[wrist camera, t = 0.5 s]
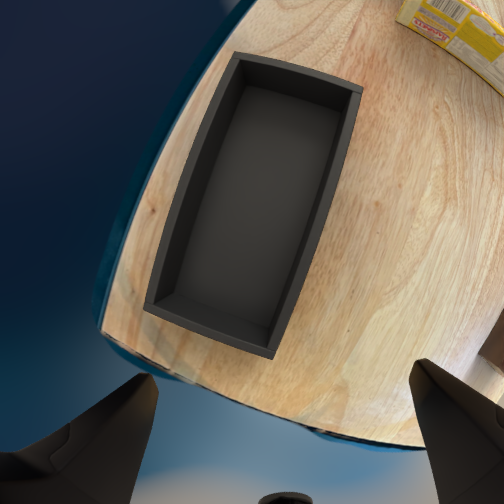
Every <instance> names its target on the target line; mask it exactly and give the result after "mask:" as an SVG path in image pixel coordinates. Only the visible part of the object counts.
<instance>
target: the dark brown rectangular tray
mask: <svg viewBox="0 0 504 504" xmlns="http://www.w3.org/2000/svg"><path fill="white" fill-rule="evenodd" d="M362 92H363V87H362V86H359V85H357V84H354V83H352V82H349V81H346V80H344V79H341V78H338V77H335V76H332V75H329V74H326V73H323V72H320V71H317V70H314V69H310V68H307V67H304V66H300V65H296V64H293V63H289V62H285V61H281V60H277V59H272V58H268V57H263V56H258V55H253V54H248V53H242V52H236V51H234V53H233V55H232V57H231V59H230V61H229V63H228V65H227V67H226V69H225V71H224V73H223V75H222V77H221V79H220V82H219V84H218V86H217V88H216V90H215V92H214V95H213V97H212V99H211V101H210V104H209V106H208V108H207V111H206V113H205V115H204V118H203V120H202V122H201V125H200V127H199V130H198V132H197V135H196V137H195V140H194V142H193V145H192V148H191V150H190V153H189V155H188V158H187V161H186V163H185V166H184V169H183V172H182V175H181V177H180V180H179V183H178V186H177V189H176V192H175V195H174V198H173V201H172V204H171V207H170V210H169V213H168V217H167V220H166V223H165V226H164V230H163V233H162V236H161V240H160V243H159V247H158V250H157V254H156V258H155V261H154V265H153V269H152V273H151V277H150V281H149V285H148V289H147V293H146V297H145V303H144V307H143V310H144V311H147V312H149V313H151V314H153V315H155V316H158V317H160V318H162V319H164V320H167V321H169V322H171V323H174V324H176V325H178V326H181V327H183V328H186V329H188V330H190V331H193V332H195V333H198V334H200V335H203V336H206V337H208V338H211V339H213V340H216V341H219V342H221V343H224V344H227V345H229V346H232V347H235V348H238V349H241V350H243V351H246V352H249V353H252V354H255V355H258V356H261V357H264V358H267V359H270V360H273V358H274V356H275V354H276V351H277V349H278V347H279V344H280V342H281V339H282V337H283V335H284V332H285V330H286V327H287V325H288V322H289V320H290V317H291V315H292V312H293V310H294V307H295V305H296V302H297V300H298V297H299V294H300V292H301V289H302V286H303V284H304V281H305V278H306V276H307V273H308V270H309V268H310V265H311V262H312V259H313V256H314V254H315V251H316V248H317V245H318V242H319V239H320V236H321V233H322V231H323V228H324V225H325V222H326V219H327V216H328V212H329V209H330V206H331V203H332V200H333V197H334V194H335V190H336V187H337V184H338V181H339V177H340V174H341V171H342V167H343V164H344V161H345V157H346V154H347V150H348V146H349V143H350V139H351V136H352V132H353V128H354V124H355V120H356V117H357V113H358V109H359V105H360V101H361V97H362Z"/></svg>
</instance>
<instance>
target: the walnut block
mask: <svg viewBox="0 0 504 504" xmlns="http://www.w3.org/2000/svg"><path fill="white" fill-rule="evenodd" d="M478 354H479V355H480V356H481V357H482V358H483V359H484V360H485V361H486V362H487V363H488V364H489V365H490V366H491V367H492V368H493V369H494V370H495V371H496V372H498V373H499V374H500V375H502V376H503V377H504V309H503V311H502V313H501V315H500V317H499V319H498V321H497V322H496V324H495V326H494V328H493V330H492V331H491V333H490V335H489V336H488V338H487V340H486V341H485V343H484V345H483V346H482V348H481V349H480V351H479V352H478Z"/></svg>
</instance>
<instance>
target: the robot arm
mask: <svg viewBox="0 0 504 504" xmlns="http://www.w3.org/2000/svg"><path fill="white" fill-rule="evenodd" d="M409 385H410V389H411V393H412V398H413V402H414V407H415V412H416V416H417V420H418V423H419V427H420V430H421V433H422V436H423V440H424V443H425V446H426V450H427V453H428V457H429V460H430V465H431V469H432V473H433V477H434V481H435V485H436V489H437V494H438V499H439V504H504V409H503V408H502V407H500V406H499V405H497V404H495V403H494V402H493V401H491V400H490V399H488V398H487V397H485V396H483V395H482V394H480V393H479V392H477V391H476V390H474V389H473V388H471V387H470V386H468V385H467V384H465V383H464V382H462V381H461V380H459V379H458V378H456V377H454V376H453V375H451V374H450V373H448V372H447V371H445V370H444V369H442V368H441V367H439V366H438V365H436V364H434V363H433V362H431V361H430V360H428V359H426V358H424V359H419V360H416V361H415V362H414V365H413V368H412V371H411V373H410V376H409ZM158 394H159V392H158V388H157V386H156V383H155V381H154V379H153V376H152V375H151V374H149V373H142V372H141V373H138V374H137V375H136V376H134V377H133V378H131V379H130V380H129V381H127V382H126V383H125V384H123V385H122V386H120V387H119V388H118V389H116V390H115V391H113V392H112V393H111V394H109V395H108V396H106V397H105V398H104V399H102V400H101V401H99V402H98V403H97V404H95V405H94V406H92V407H91V408H89V409H88V410H87V411H85V412H84V413H82V414H81V415H79V416H78V417H76V418H75V419H73V420H72V421H71V422H70V423H67V424H66V425H65V426H63V427H62V428H60V429H58V430H57V431H55V432H54V433H52V434H50V435H49V436H47V437H45V438H43V439H41V440H39V441H37V442H35V443H33V444H31V445H29V446H28V447H26V448H23V449H21V450H19V451H16V452H0V504H129V503H130V500H131V496H132V493H133V489H134V486H135V482H136V479H137V476H138V472H139V469H140V466H141V462H142V459H143V456H144V452H145V449H146V446H147V443H148V440H149V436H150V433H151V430H152V425H153V420H154V414H155V410H156V405H157V399H158ZM267 504H310V503H306V502H302V501H298V500H295V499H291V498H288V497H285V496H280V497H278V498H276V499H274V500H273V501H271V502H269V503H267Z"/></svg>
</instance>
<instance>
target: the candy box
mask: <svg viewBox="0 0 504 504" xmlns="http://www.w3.org/2000/svg"><path fill="white" fill-rule="evenodd" d="M396 21H397V22H399V23H401V24H403V25H405V26H407V27H408V28H410V29H412V30H414V31H416V32H417V33H419V34H421V35H423V36H424V37H426V38H428V39H429V40H431V41H432V42H434V43H436V44H437V45H439V46H440V47H442V48H443V49H445V50H446V51H448V52H449V53H451V54H452V55H454V56H455V57H456V58H458V59H459V60H460V61H462V62H463V63H464V64H466V65H467V66H468V67H470V68H471V69H472V70H473V71H475V72H476V73H477V74H478V75H480V76H481V77H482V78H483V79H484V80H485V81H487V82H488V83H489V84H490V85H491V86H492V87H493V88H494V89H496V90H497V91H498V92H499V93H500V94H501V95H502V96H503V97H504V28H503V27H502V26H500V25H499V24H498V23H497V22H496V21H495V20H493V19H492V18H491V17H490V16H489V15H487V14H486V13H485V12H484V11H482V10H481V9H480V8H478V7H477V6H476V5H474V4H473V3H471V2H470V1H469V0H404V2H403V4H402V6H401V8H400V10H399V12H398V14H397V17H396Z"/></svg>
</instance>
